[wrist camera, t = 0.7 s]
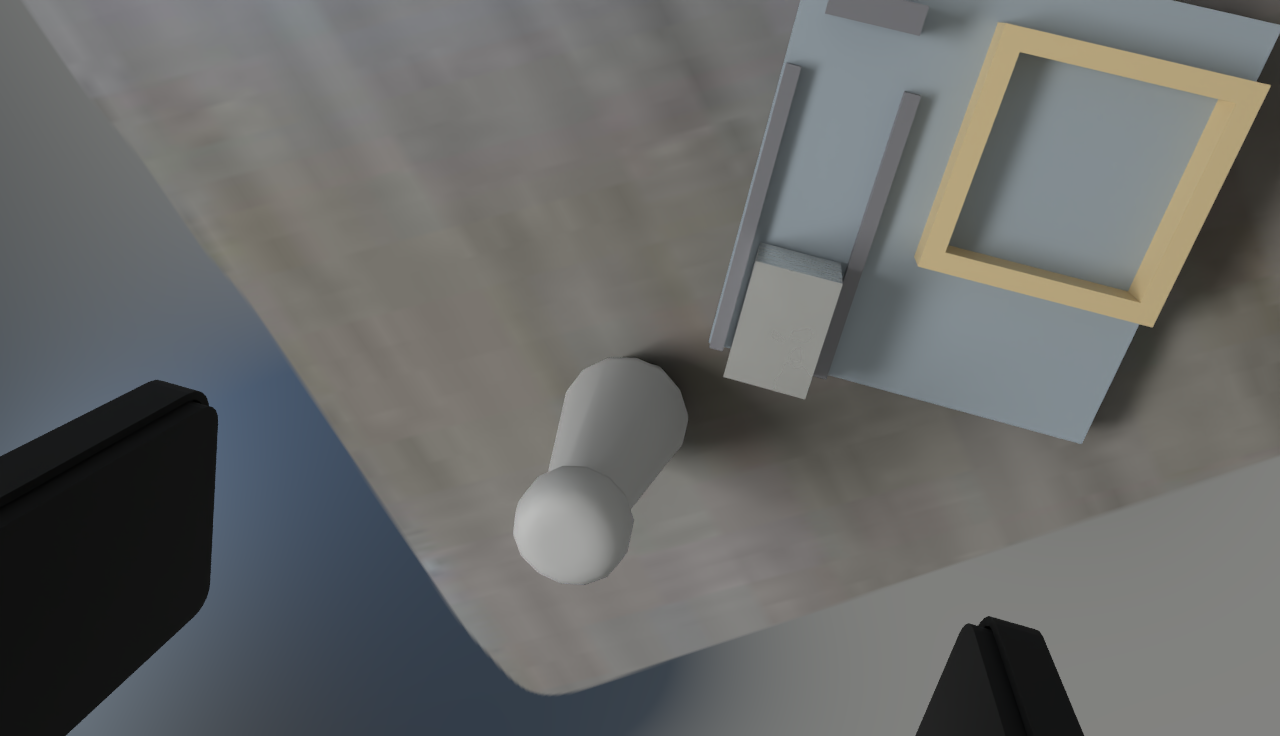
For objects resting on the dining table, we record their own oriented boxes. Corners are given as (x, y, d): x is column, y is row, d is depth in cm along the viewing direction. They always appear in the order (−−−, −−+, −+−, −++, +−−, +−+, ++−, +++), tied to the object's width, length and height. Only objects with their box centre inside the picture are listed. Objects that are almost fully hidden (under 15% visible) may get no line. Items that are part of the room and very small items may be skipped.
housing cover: (760, 242, 37) (755, 261, 34) (840, 263, 36) (842, 283, 34) (729, 350, 39) (723, 376, 36) (805, 371, 38) (805, 399, 36)
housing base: (821, -76, 34) (822, -86, 30) (1257, 24, 33) (1312, 26, 29) (713, 327, 41) (703, 358, 37) (1069, 424, 40) (1095, 466, 36)
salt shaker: (658, 321, 41) (595, 447, 29) (715, 423, 43) (676, 583, 31) (554, 370, 43) (455, 507, 31) (611, 466, 45) (538, 632, 33)
